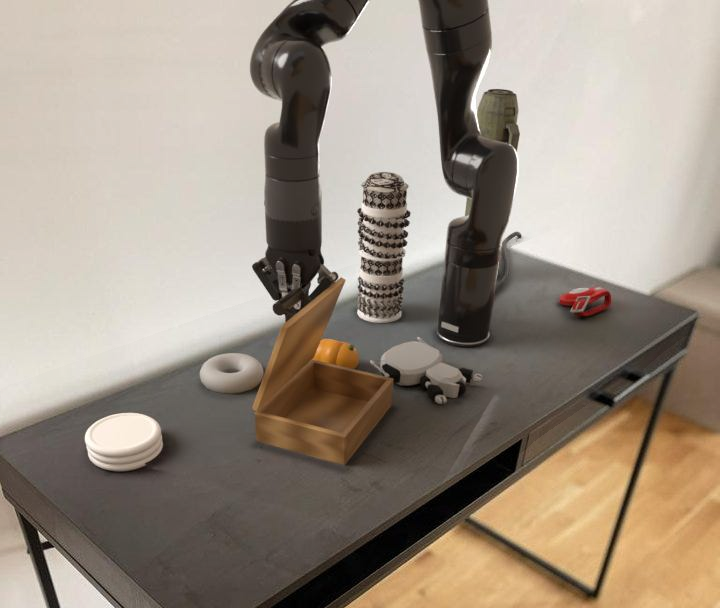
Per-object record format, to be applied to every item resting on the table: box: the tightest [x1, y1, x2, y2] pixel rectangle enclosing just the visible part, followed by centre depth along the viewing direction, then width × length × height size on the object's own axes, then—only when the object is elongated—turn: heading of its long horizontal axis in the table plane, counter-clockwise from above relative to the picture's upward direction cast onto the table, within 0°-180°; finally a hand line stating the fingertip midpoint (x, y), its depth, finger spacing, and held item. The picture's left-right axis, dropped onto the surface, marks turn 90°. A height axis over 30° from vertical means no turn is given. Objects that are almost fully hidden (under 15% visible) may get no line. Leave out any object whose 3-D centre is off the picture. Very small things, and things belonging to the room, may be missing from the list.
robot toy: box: [369, 336, 483, 405], centre depth 121 cm, size 12×4×15 cm
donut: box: [199, 352, 265, 395], centre depth 120 cm, size 10×4×10 cm
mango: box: [312, 338, 360, 370], centre depth 123 cm, size 8×5×5 cm, turn 67°
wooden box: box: [254, 360, 394, 466], centre depth 110 cm, size 14×18×5 cm
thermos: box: [464, 88, 521, 276], centre depth 150 cm, size 9×12×35 cm
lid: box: [251, 277, 346, 413], centre depth 105 cm, size 14×18×5 cm
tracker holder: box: [558, 286, 612, 317], centre depth 147 cm, size 12×4×10 cm
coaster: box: [84, 412, 164, 472], centre depth 103 cm, size 10×10×4 cm
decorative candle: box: [356, 171, 412, 324], centre depth 136 cm, size 9×9×25 cm
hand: (296, 329), depth 111 cm, fingers closed
